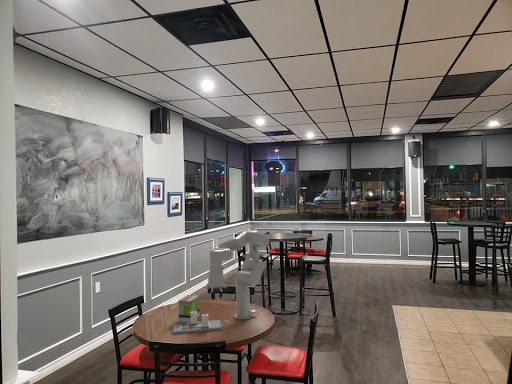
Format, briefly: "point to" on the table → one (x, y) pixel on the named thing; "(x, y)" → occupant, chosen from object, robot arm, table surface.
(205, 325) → the block
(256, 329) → the table surface
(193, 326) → the console
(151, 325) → the table surface
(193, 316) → the tab
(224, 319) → the table surface
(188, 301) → the tea box
